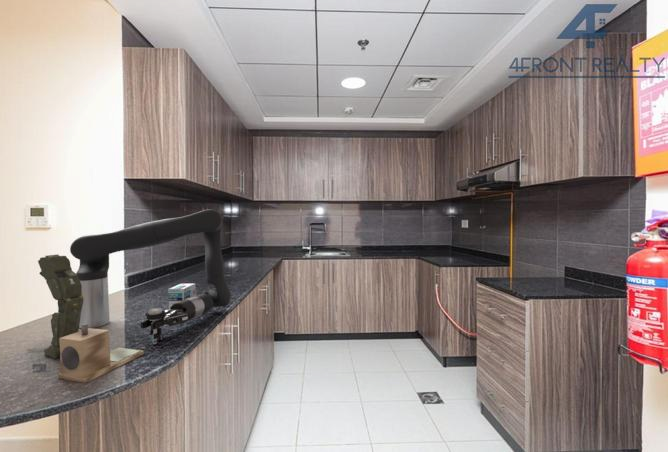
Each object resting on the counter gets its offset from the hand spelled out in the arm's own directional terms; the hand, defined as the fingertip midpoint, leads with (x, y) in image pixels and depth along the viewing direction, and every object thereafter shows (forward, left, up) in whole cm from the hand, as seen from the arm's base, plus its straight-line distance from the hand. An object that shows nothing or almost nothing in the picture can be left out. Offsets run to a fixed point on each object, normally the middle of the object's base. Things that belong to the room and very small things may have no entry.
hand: (146, 325), depth 96 cm
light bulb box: (-15, +32, -6) cm, 36 cm away
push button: (0, +3, -6) cm, 7 cm away
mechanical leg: (-19, -10, -6) cm, 23 cm away
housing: (0, -13, -6) cm, 15 cm away
